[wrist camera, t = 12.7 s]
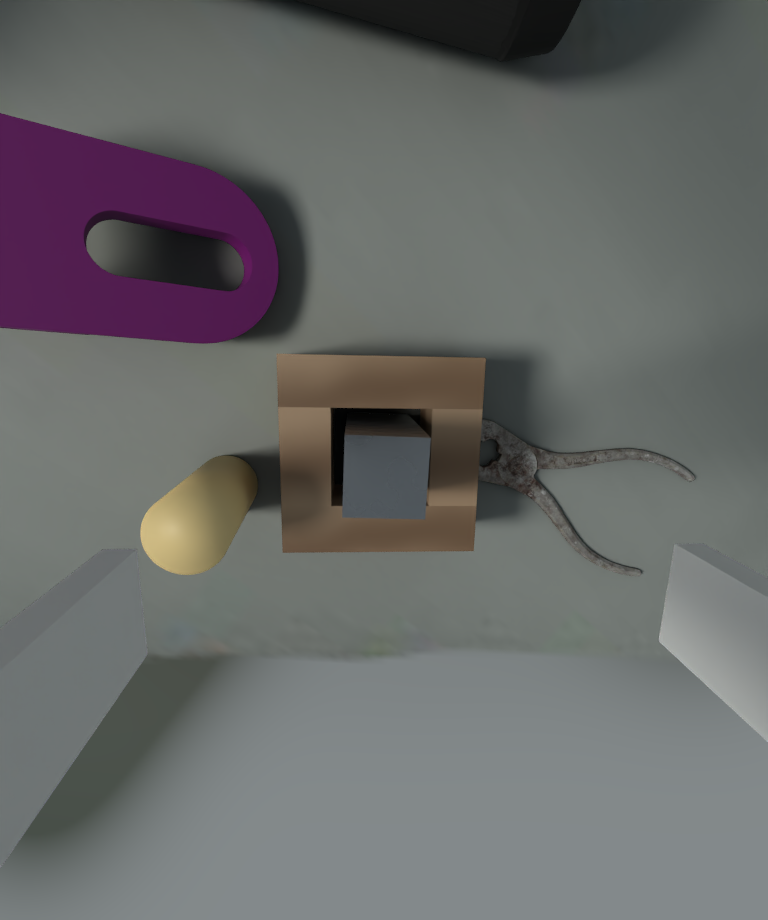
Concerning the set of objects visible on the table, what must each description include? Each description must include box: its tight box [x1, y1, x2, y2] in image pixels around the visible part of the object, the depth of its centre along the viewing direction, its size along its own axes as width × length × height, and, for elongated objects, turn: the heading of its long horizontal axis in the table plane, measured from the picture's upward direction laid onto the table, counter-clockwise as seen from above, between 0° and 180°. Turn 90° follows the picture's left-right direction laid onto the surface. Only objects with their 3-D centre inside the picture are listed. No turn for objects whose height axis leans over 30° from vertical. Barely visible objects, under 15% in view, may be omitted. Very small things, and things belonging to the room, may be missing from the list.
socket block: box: [277, 354, 486, 553], centre depth 30 cm, size 12×12×5 cm
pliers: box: [478, 419, 695, 576], centre depth 34 cm, size 10×1×20 cm
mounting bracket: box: [0, 113, 279, 343], centre depth 27 cm, size 9×8×18 cm
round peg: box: [141, 455, 258, 575], centre depth 27 cm, size 4×4×10 cm
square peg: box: [342, 412, 431, 520], centre depth 28 cm, size 4×4×10 cm
